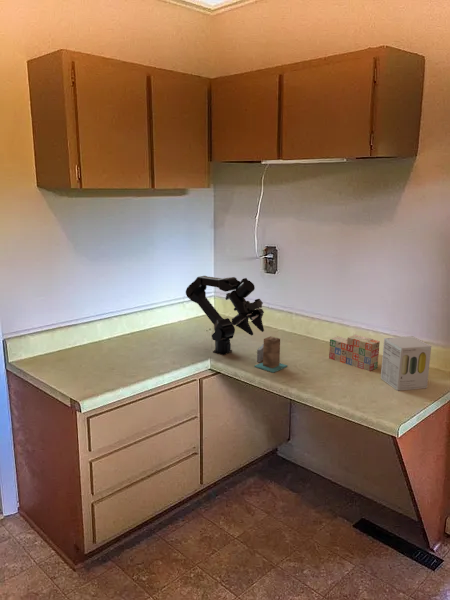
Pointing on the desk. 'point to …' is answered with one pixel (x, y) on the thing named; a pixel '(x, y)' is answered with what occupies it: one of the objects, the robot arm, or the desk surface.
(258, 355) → the screen
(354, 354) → the stack of blocks
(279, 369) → the mat
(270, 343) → the letter block
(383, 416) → the desk surface
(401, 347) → the supplement box
